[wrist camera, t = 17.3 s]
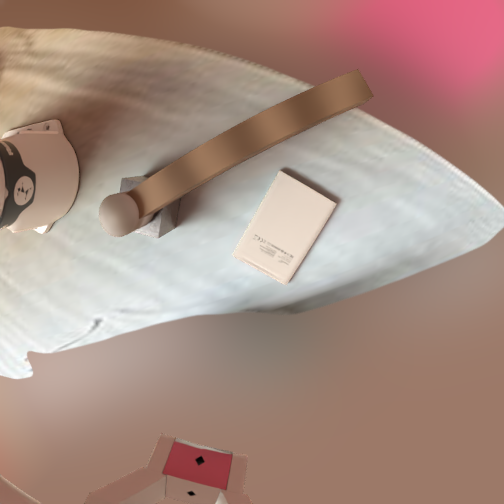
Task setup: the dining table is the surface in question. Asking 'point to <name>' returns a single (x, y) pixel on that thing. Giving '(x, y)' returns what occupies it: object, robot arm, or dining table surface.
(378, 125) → the dining table surface
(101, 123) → the dining table surface
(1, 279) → the dining table surface
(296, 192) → the external hard drive
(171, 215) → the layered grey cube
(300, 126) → the walnut swing arm
